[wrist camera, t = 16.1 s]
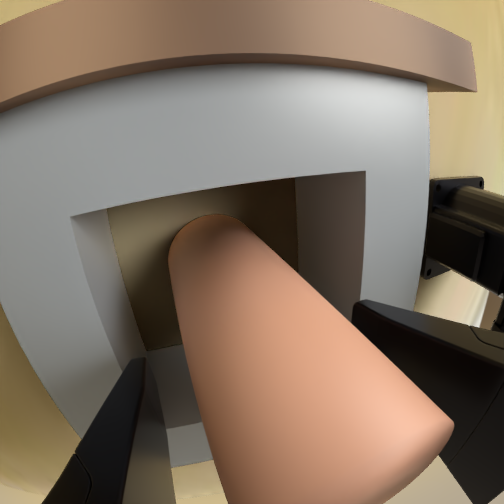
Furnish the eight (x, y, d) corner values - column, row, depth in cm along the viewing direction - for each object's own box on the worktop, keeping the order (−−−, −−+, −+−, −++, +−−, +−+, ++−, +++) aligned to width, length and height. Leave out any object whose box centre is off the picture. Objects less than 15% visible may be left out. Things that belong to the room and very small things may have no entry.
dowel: (254, 207, 13) (485, 377, 3) (261, 289, 15) (413, 486, 5) (159, 224, 12) (223, 513, 2) (177, 308, 14) (254, 558, 4)
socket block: (346, 92, 12) (426, 83, 8) (343, 341, 18) (391, 393, 13) (25, 132, 9) (-41, 132, 4) (111, 399, 14) (111, 474, 10)
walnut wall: (374, 58, 12) (470, 42, 7) (378, 95, 13) (477, 92, 8) (-15, 102, 8) (-102, 92, 2) (-12, 146, 8) (-102, 161, 3)
